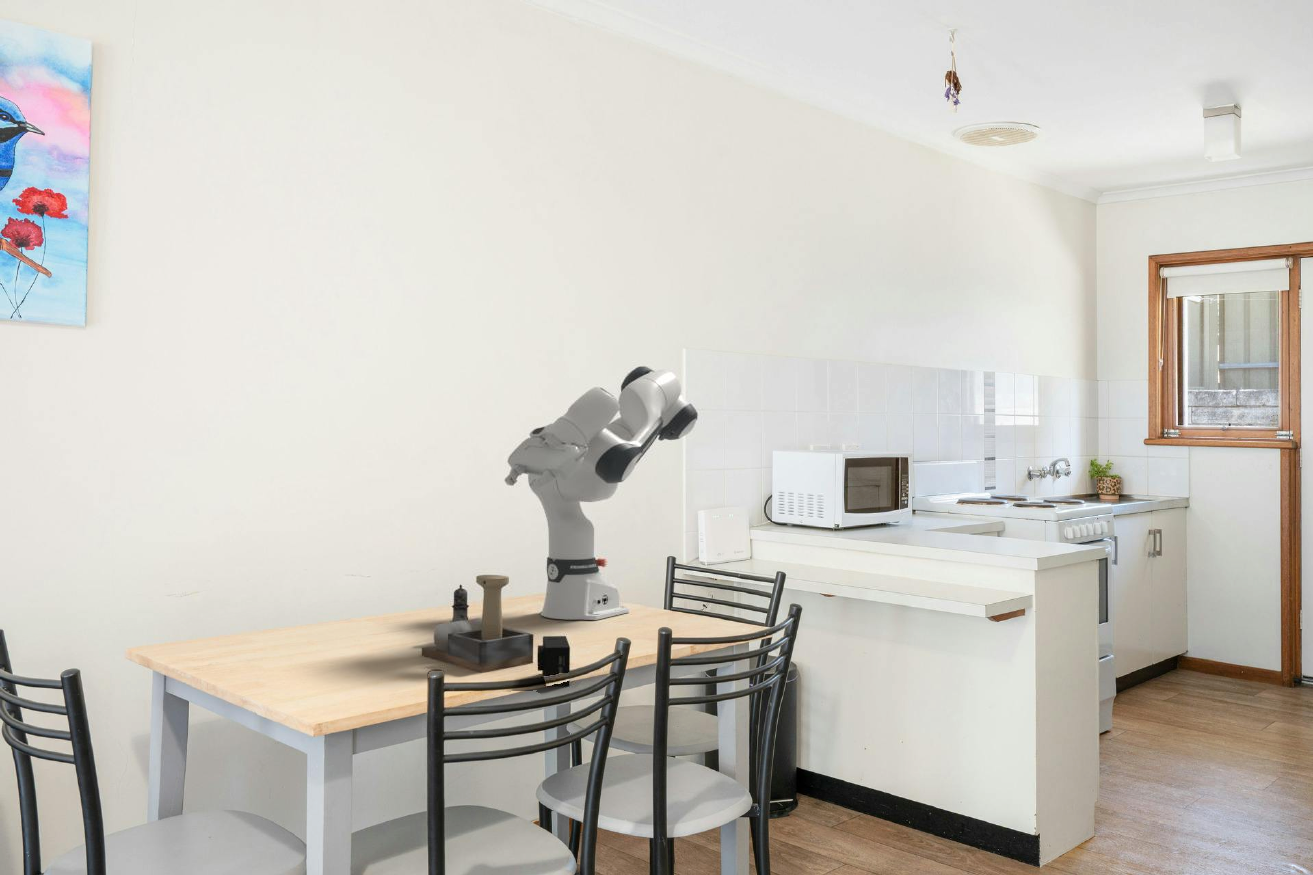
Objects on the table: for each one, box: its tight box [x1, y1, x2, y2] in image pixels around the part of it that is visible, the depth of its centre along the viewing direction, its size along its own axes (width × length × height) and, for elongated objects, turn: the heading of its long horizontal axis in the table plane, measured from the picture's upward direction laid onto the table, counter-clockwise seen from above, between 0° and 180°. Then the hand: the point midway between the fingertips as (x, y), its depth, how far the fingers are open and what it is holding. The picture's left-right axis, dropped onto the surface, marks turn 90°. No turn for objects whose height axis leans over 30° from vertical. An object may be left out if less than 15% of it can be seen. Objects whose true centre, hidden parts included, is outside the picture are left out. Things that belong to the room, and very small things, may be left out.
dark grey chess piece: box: [450, 584, 470, 622], centre depth 217 cm, size 6×6×12 cm
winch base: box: [421, 617, 534, 673], centre depth 199 cm, size 12×20×7 cm, turn 46°
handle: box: [475, 574, 510, 641], centre depth 196 cm, size 5×6×15 cm
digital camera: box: [536, 635, 571, 688], centre depth 183 cm, size 10×5×7 cm, turn 9°
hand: (519, 485), depth 214 cm, fingers open, 8 cm apart
